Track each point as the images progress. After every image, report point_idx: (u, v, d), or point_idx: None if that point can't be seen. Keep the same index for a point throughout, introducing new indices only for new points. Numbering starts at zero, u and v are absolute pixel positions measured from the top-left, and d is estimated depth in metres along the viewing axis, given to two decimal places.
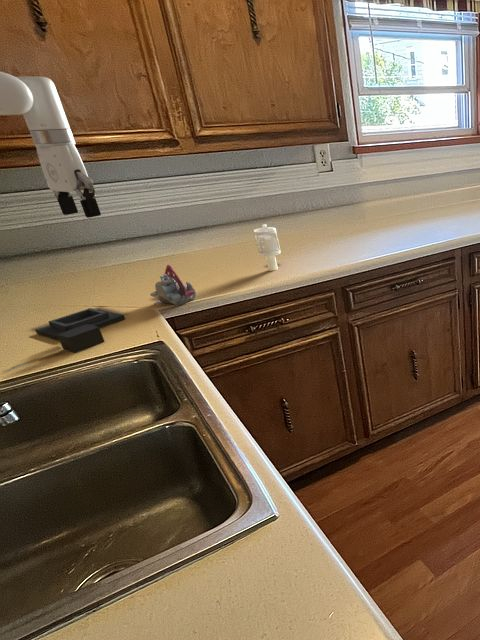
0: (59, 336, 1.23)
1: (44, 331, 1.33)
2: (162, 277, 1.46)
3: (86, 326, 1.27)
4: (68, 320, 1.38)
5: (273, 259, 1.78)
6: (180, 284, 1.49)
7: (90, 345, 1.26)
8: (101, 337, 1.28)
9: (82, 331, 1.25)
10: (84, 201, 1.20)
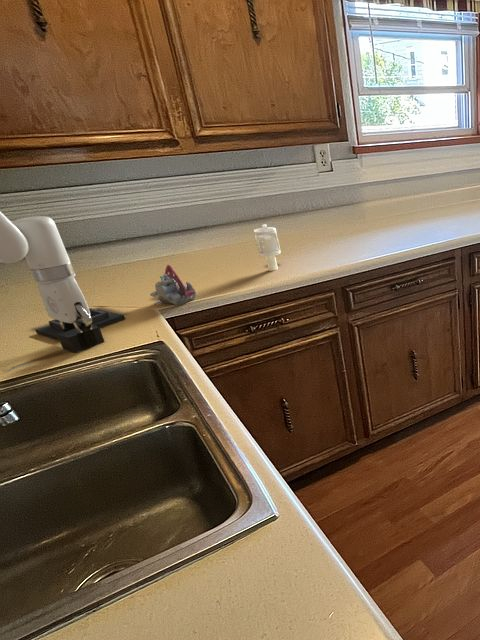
0: (59, 336, 1.23)
1: (44, 331, 1.33)
2: (162, 277, 1.46)
3: None
4: None
5: (273, 259, 1.78)
6: (180, 284, 1.49)
7: None
8: (101, 337, 1.28)
9: None
10: (81, 333, 1.23)
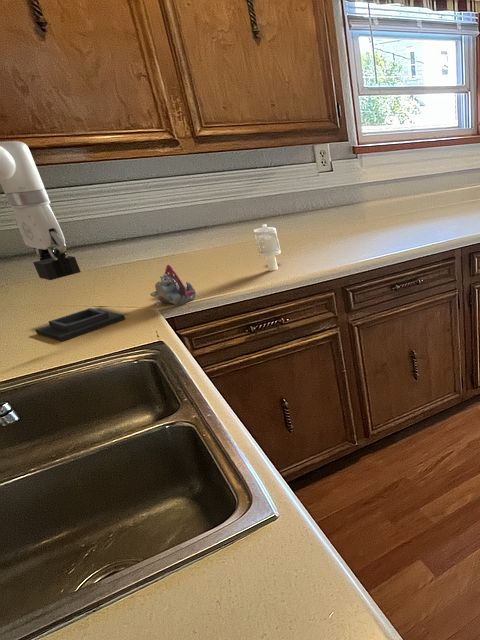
0: (35, 264, 1.26)
1: (44, 331, 1.33)
2: (162, 277, 1.46)
3: None
4: (68, 320, 1.38)
5: (273, 259, 1.78)
6: (180, 284, 1.49)
7: None
8: (77, 267, 1.30)
9: None
10: (56, 261, 1.26)
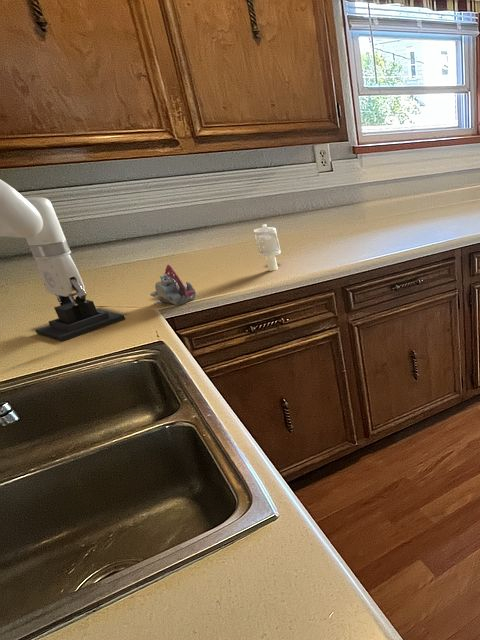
0: (56, 309, 1.34)
1: (44, 331, 1.33)
2: (162, 277, 1.46)
3: None
4: None
5: (273, 259, 1.78)
6: (180, 284, 1.49)
7: None
8: (95, 311, 1.38)
9: None
10: (76, 306, 1.33)
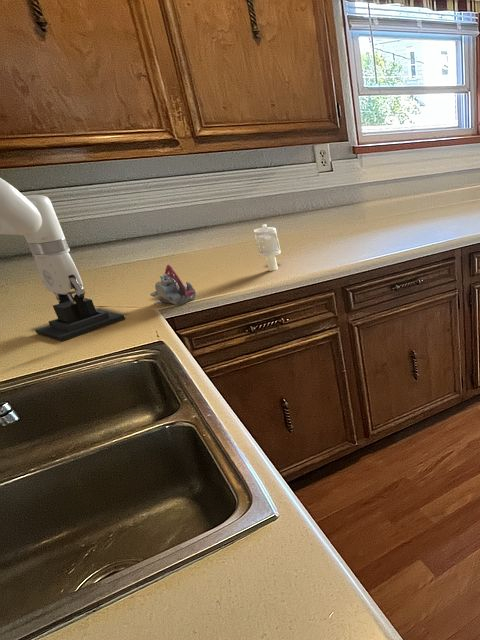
0: (55, 307, 1.33)
1: (44, 331, 1.33)
2: (162, 277, 1.46)
3: None
4: None
5: (273, 259, 1.78)
6: (180, 284, 1.49)
7: None
8: (93, 309, 1.38)
9: None
10: (74, 305, 1.33)
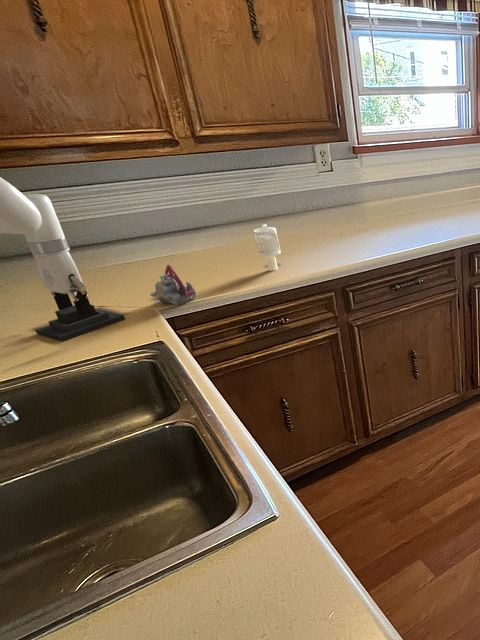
0: (57, 313, 1.34)
1: (44, 331, 1.33)
2: (162, 277, 1.46)
3: None
4: None
5: (273, 259, 1.78)
6: (180, 284, 1.49)
7: None
8: None
9: None
10: (77, 302, 1.32)
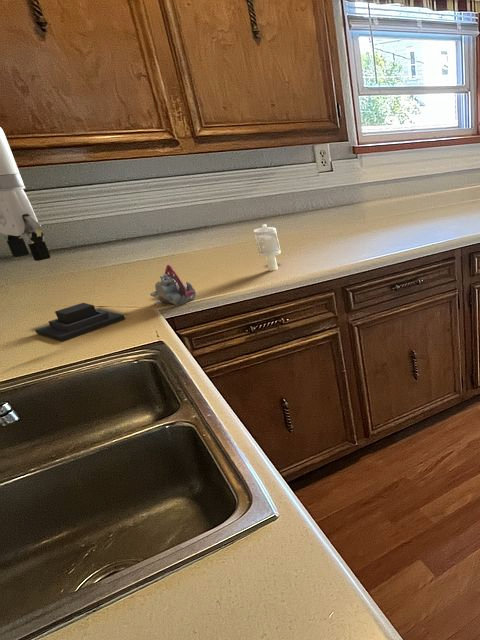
0: (57, 313, 1.34)
1: (44, 331, 1.33)
2: (162, 277, 1.46)
3: (81, 305, 1.38)
4: None
5: (273, 259, 1.78)
6: (180, 284, 1.49)
7: None
8: None
9: (78, 308, 1.35)
10: (32, 245, 1.20)
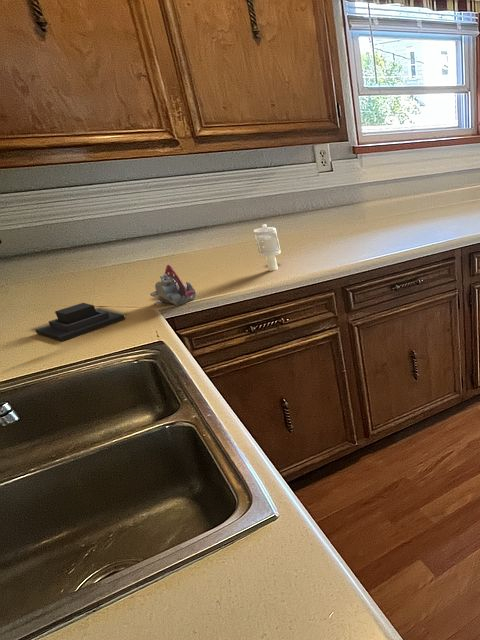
0: (57, 313, 1.34)
1: (44, 331, 1.33)
2: (162, 277, 1.46)
3: (81, 305, 1.38)
4: None
5: (273, 259, 1.78)
6: (180, 284, 1.49)
7: None
8: None
9: (78, 308, 1.35)
10: None
